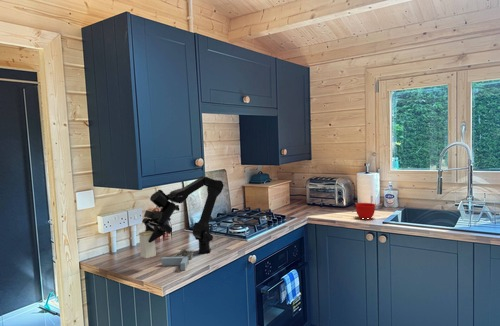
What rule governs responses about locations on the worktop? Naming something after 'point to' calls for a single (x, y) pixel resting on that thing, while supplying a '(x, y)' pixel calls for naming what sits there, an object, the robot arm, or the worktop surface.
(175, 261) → the corner fence
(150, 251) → the tea tin
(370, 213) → the ceramic cup
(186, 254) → the egg carton
